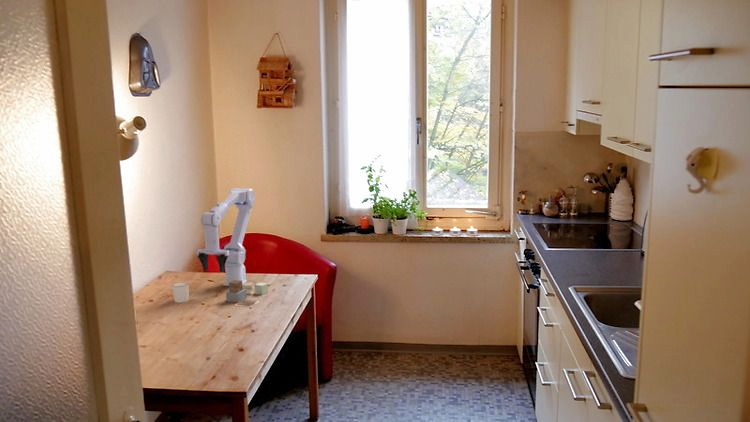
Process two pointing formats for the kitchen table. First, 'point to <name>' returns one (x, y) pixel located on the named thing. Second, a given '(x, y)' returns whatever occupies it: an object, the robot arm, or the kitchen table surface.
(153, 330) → the kitchen table surface
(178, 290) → the shot glass
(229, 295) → the slate base
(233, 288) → the walnut cube
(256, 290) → the sage cube
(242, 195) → the robot arm
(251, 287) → the birch cube
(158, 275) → the kitchen table surface
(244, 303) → the swatch
